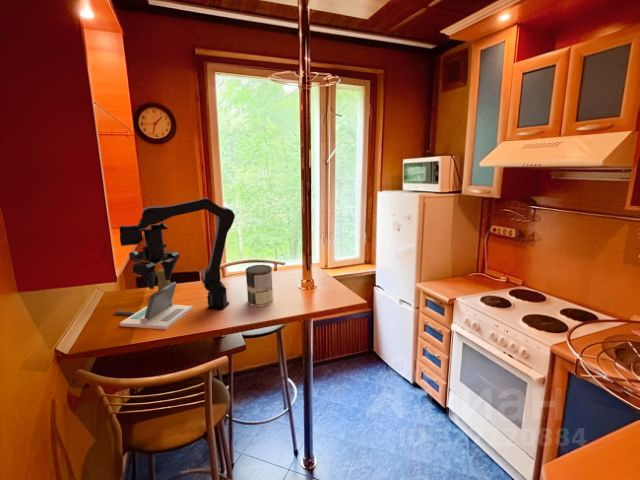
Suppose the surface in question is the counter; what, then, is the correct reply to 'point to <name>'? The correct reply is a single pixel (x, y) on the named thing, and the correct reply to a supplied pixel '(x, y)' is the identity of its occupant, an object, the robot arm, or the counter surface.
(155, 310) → the lever
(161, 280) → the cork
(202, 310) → the counter surface
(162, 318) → the switch plate
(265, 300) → the coffee can
